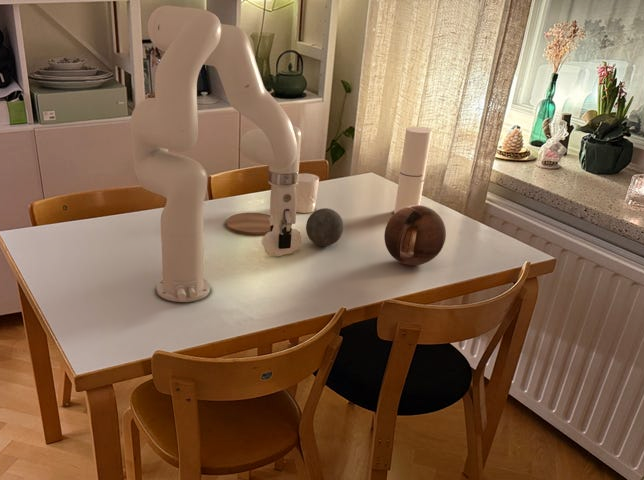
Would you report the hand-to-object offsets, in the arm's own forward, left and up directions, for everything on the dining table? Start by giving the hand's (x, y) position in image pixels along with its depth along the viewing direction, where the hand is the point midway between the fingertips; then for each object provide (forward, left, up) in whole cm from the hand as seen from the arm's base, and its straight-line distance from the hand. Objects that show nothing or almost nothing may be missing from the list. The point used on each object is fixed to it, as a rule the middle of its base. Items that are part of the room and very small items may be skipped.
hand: (280, 241), depth 184 cm
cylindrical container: (+23, -45, -3) cm, 51 cm away
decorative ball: (+3, -13, -3) cm, 14 cm away
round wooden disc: (+20, +3, -3) cm, 20 cm away
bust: (0, 0, -3) cm, 3 cm away
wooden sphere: (-12, -32, -3) cm, 34 cm away
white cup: (+31, -15, -3) cm, 34 cm away
